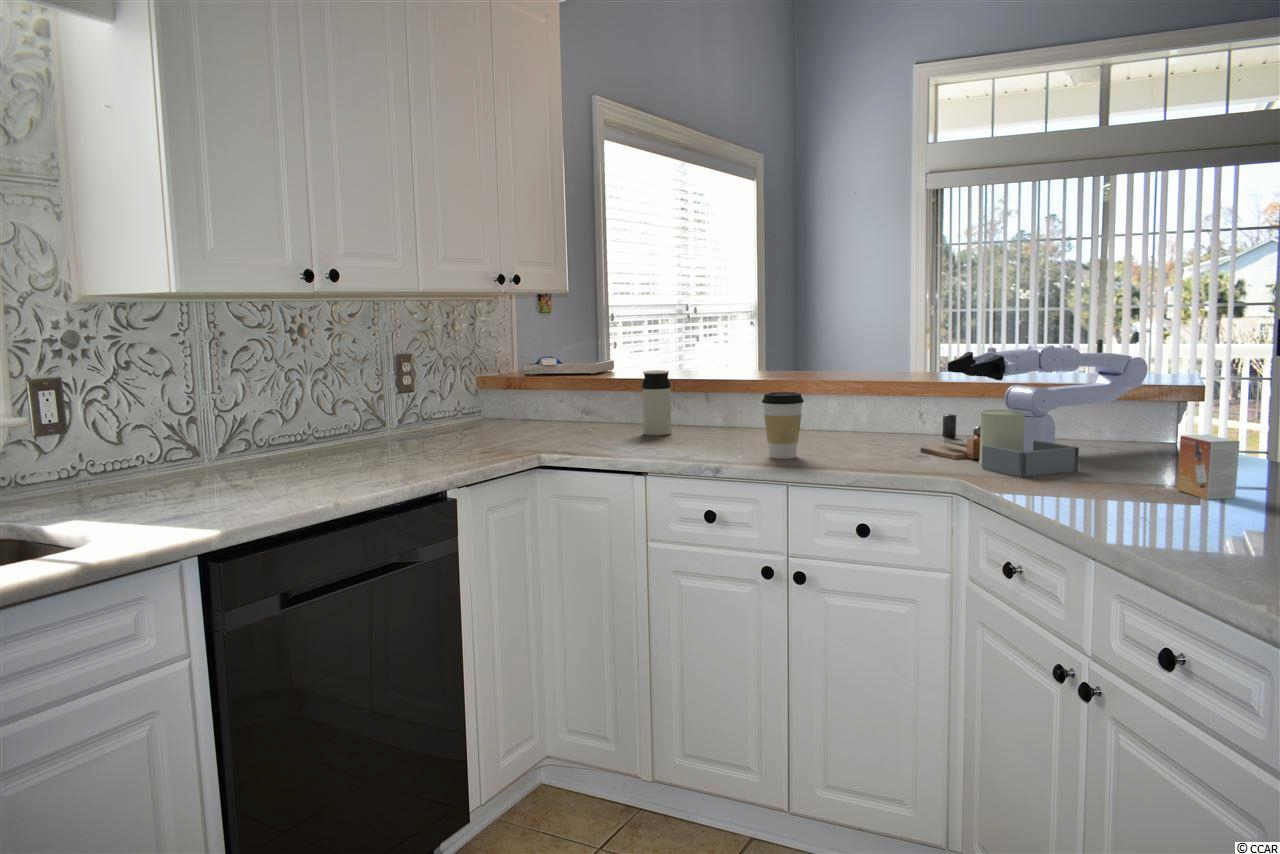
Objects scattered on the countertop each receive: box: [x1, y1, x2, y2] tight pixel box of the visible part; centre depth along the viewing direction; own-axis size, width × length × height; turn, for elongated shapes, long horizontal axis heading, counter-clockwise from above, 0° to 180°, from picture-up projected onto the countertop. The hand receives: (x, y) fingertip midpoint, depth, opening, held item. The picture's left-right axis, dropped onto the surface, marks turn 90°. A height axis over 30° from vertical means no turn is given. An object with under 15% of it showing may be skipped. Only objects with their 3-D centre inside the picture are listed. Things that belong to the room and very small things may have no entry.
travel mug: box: [641, 369, 672, 437], centre depth 254 cm, size 8×8×18 cm
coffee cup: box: [761, 391, 805, 460], centre depth 212 cm, size 10×10×15 cm
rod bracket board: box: [920, 444, 968, 460], centre depth 211 cm, size 10×12×1 cm
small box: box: [1176, 434, 1240, 501], centre depth 161 cm, size 8×6×10 cm
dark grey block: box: [942, 413, 981, 460], centre depth 207 cm, size 5×13×9 cm, turn 21°
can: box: [978, 409, 1025, 466], centre depth 196 cm, size 9×9×12 cm
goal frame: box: [981, 440, 1080, 478], centre depth 189 cm, size 15×11×5 cm
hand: (959, 368), depth 202 cm, fingers open, 7 cm apart
